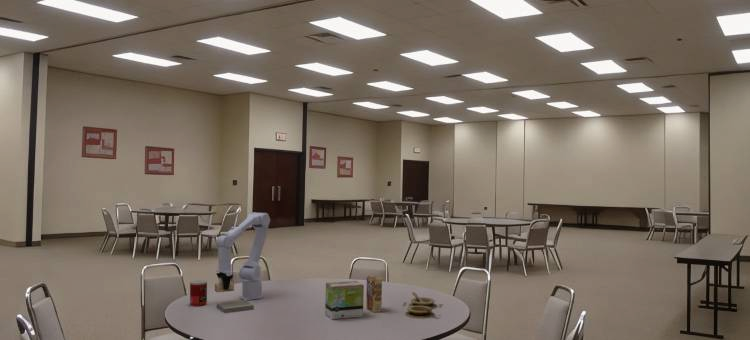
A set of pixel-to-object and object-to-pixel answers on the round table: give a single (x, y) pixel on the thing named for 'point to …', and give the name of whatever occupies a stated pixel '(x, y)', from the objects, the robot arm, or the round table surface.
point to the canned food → (198, 293)
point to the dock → (235, 306)
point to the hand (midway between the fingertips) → (224, 288)
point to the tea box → (344, 299)
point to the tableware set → (421, 307)
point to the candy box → (374, 294)
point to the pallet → (220, 288)
